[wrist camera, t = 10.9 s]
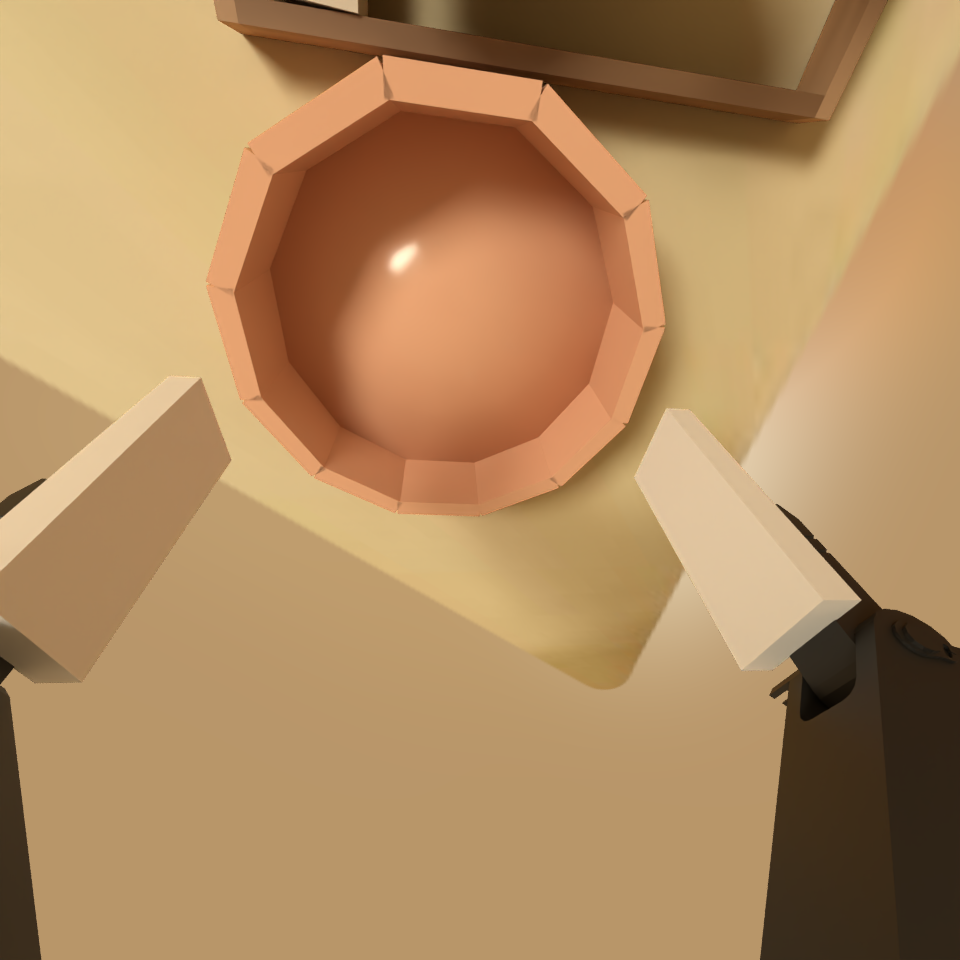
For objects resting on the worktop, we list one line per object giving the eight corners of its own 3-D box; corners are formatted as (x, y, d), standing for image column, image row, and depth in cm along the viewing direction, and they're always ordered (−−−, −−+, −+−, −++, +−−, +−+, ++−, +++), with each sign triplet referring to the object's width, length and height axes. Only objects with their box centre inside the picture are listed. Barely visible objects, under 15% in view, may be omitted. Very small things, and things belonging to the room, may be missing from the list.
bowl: (205, 48, 14) (124, 12, 10) (682, 122, 16) (748, 114, 12) (297, 460, 25) (273, 509, 22) (571, 472, 27) (590, 519, 24)
